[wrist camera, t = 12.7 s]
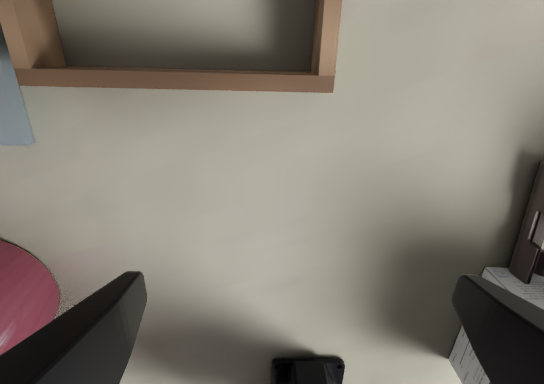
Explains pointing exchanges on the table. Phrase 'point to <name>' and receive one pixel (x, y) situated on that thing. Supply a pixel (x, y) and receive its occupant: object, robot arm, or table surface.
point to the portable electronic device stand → (531, 235)
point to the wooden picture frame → (53, 71)
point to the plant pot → (24, 295)
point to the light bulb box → (462, 355)
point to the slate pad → (11, 103)
